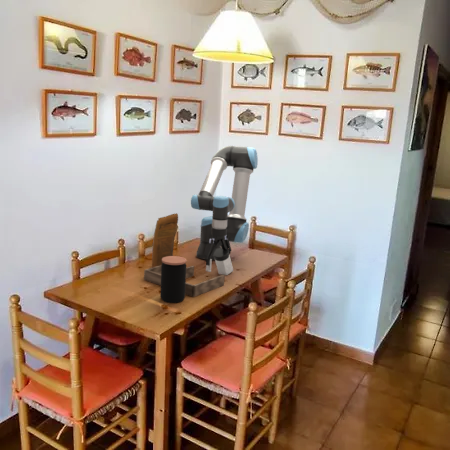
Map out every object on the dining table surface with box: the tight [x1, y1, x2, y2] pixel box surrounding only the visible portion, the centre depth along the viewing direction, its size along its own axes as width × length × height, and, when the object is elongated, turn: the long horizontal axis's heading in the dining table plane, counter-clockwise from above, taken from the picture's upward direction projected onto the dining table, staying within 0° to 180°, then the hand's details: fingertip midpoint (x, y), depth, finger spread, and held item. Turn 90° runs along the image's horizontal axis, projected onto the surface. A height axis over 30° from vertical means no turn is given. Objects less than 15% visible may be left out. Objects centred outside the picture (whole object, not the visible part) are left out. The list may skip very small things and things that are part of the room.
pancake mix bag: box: [151, 213, 179, 268], centre depth 244 cm, size 7×19×28 cm, turn 144°
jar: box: [213, 247, 234, 276], centre depth 238 cm, size 9×8×12 cm
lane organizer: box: [143, 265, 226, 298], centre depth 224 cm, size 22×32×5 cm
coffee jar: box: [160, 255, 187, 304], centre depth 200 cm, size 11×11×18 cm
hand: (216, 268), depth 234 cm, fingers open, 13 cm apart
